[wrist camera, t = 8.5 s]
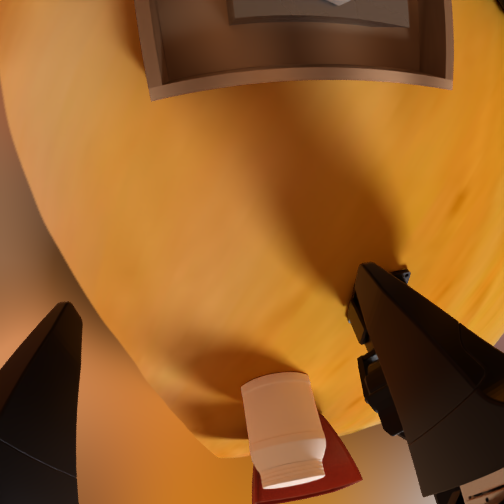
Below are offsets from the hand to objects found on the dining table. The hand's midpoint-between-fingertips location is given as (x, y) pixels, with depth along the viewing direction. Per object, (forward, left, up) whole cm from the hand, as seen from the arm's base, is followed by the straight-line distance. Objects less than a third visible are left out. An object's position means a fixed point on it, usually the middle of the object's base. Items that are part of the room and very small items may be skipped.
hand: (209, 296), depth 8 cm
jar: (-3, +36, -13) cm, 38 cm away
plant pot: (-5, +58, -13) cm, 59 cm away
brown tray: (-7, -12, -13) cm, 19 cm away
